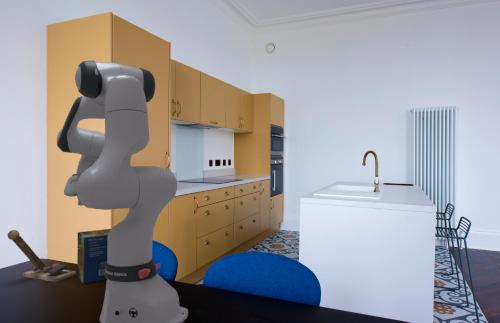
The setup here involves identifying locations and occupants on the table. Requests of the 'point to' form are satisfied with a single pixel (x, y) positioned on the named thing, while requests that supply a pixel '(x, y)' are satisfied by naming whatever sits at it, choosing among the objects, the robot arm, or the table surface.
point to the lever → (26, 249)
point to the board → (46, 276)
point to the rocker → (57, 269)
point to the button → (55, 265)
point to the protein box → (92, 255)
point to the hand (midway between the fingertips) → (81, 205)
